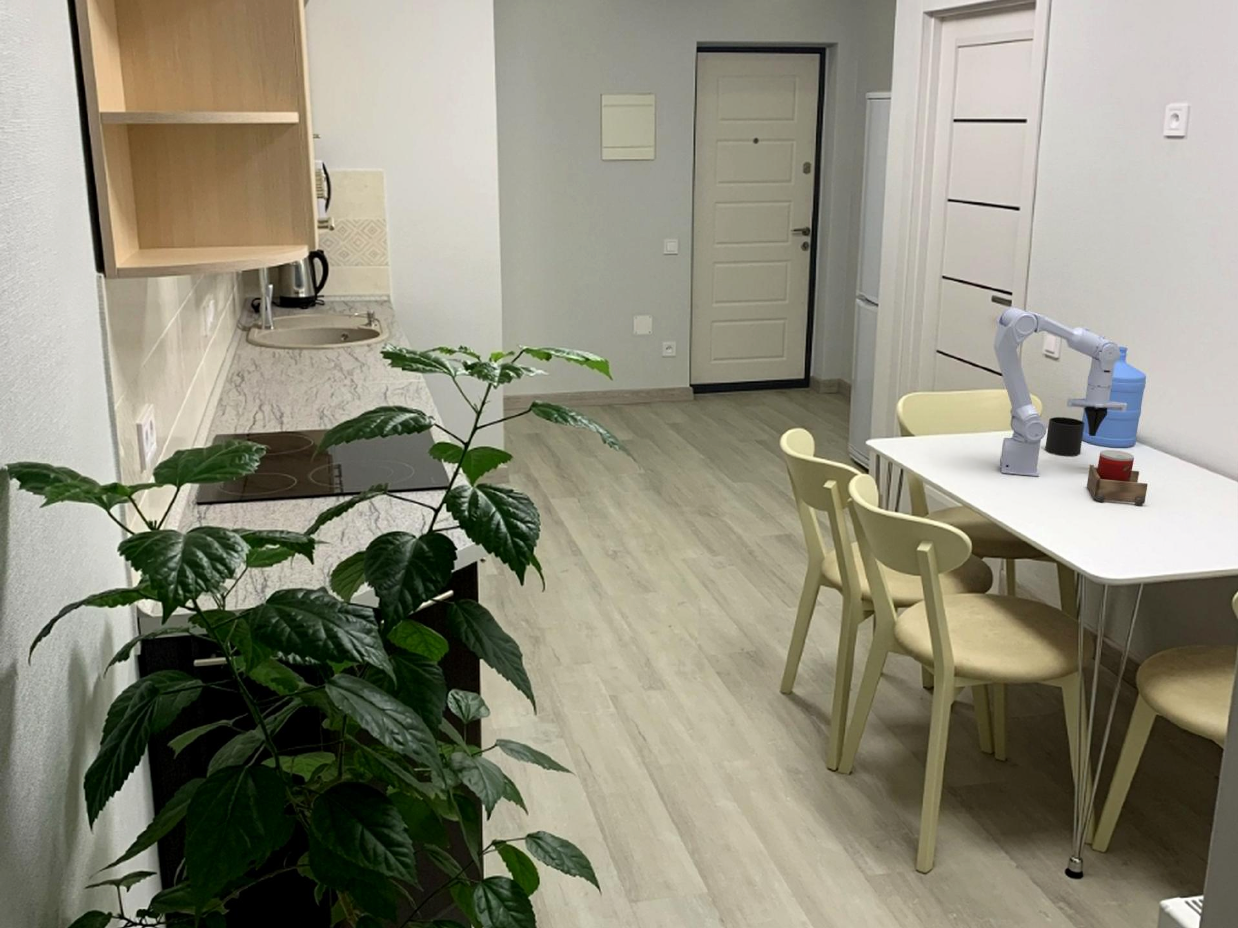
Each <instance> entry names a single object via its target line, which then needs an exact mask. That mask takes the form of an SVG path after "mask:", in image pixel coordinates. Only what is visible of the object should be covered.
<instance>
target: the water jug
mask: <svg viewBox="0 0 1238 928" xmlns="http://www.w3.org/2000/svg"><path fill="white" fill-rule="evenodd" d="M1118 347H1119V349H1120V353H1121V356H1120V358H1119V360H1118V361H1117V362H1116V363H1115V367H1114V372H1113V379H1112V385H1111V391H1110V397H1109V401H1114V402H1121V403H1126V404H1127V407H1126V412H1124V411H1119V410H1107V412H1108V413H1107V415H1106V417H1105V418H1104V419H1103V421H1102V422H1101V424H1100V426H1099V428H1098V430H1097V432H1096V435H1095V436H1090V435H1089V426H1088V420H1087V416H1086V413H1085V409H1084V408H1083V413H1082V419H1081V421H1082V422H1084V431H1083V437H1082V441H1083V442H1086V443H1087V444H1091V445H1094V446H1099V447H1105V448H1117V449H1119V448H1120V449H1121V448H1130V447H1132V446H1134V445H1135V444H1136V442H1137V438H1138V436H1137V435H1138V427H1139V421H1140V417H1141V414H1142V404H1143V399H1144V392H1145V388H1146V382H1147V381H1146V380H1147V376H1146V374H1145V373H1144V372H1142V371H1141V370H1139V369H1138V368H1136V367H1134V366H1133V365H1131V364H1129V363H1127V361H1126V359H1127V355H1128V354H1127V351H1128V348H1127V347H1123V346H1118ZM1089 375H1090V371H1089V372H1088V376H1087V386H1086V389H1087V388H1088V381H1089ZM1085 392H1086V393H1085V395H1086V394H1087V390H1086V391H1085Z"/></svg>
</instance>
